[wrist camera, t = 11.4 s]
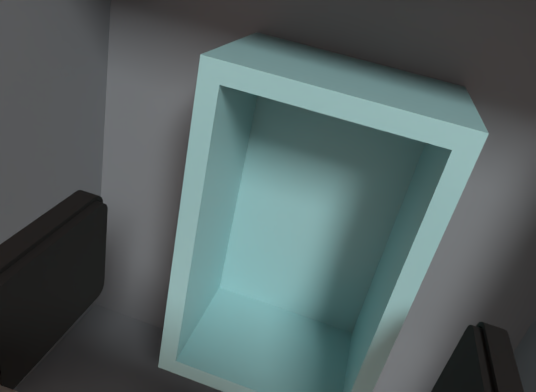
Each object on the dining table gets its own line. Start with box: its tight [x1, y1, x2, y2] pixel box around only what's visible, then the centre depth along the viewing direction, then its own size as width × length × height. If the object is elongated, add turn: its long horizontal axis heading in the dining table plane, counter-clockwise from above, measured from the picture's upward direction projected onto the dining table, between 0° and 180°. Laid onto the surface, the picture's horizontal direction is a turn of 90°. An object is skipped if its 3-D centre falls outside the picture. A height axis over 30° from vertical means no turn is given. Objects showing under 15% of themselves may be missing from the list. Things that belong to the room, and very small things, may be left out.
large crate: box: [0, 0, 536, 392], centre depth 16 cm, size 20×20×7 cm
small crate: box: [158, 32, 489, 392], centre depth 16 cm, size 11×7×5 cm, turn 168°
